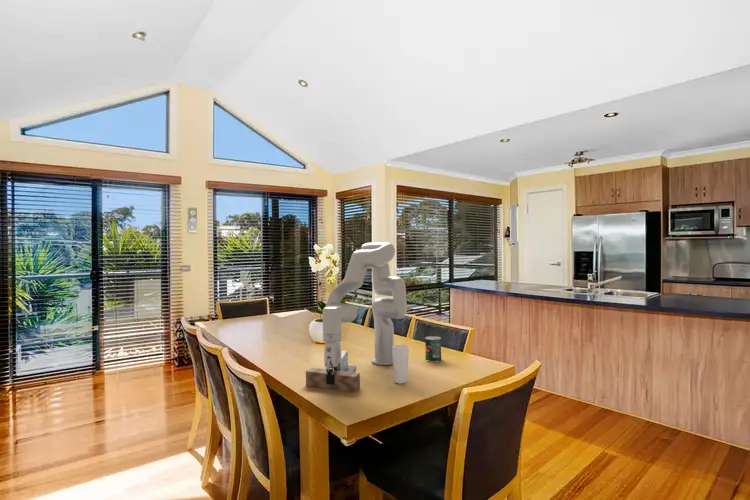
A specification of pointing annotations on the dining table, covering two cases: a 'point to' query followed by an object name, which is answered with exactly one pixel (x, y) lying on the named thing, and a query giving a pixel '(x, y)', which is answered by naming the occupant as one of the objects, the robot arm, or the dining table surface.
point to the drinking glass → (400, 363)
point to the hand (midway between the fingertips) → (332, 380)
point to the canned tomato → (433, 348)
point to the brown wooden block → (341, 380)
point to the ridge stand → (345, 363)
